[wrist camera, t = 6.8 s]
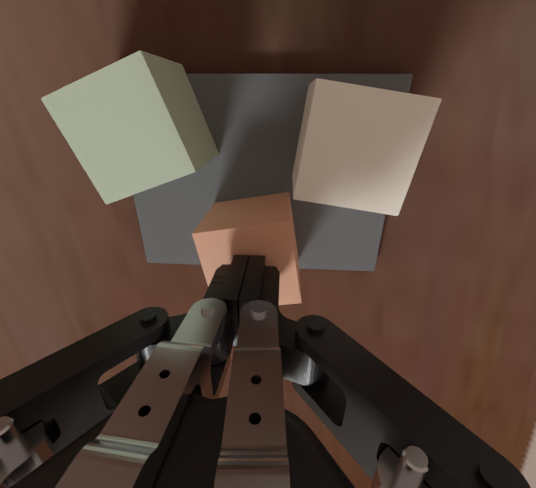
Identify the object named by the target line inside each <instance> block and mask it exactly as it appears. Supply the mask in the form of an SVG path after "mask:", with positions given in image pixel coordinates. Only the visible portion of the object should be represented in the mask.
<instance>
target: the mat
mask: <svg viewBox="0 0 536 488" xmlns="http://www.w3.org/2000/svg"><path fill="white" fill-rule="evenodd" d="M186 75H187V77H188V80H189V82H190V84H191V87H192V89H193V92H194V94H195V97H196V99H197V101H198V104H199V106H200V109H201V111H202V114H203V116H204V118H205V121H206V123H207V126H208V128H209V131H210V133H211V135H212V138H213V140H214V143H215V145H216V148H217V150H218V152H219V154H218V155H217V156H216V157H215V158H213V159H212V160H211V161H209V162H208V163H207V164H205V165H204V166H203V167H202V168H200V169H199V170H198V171H196V172H194V173H191V174H189V175H186V176H183V177H180V178H178V179H175V180H172V181H170V182H167V183H164V184H161V185H159V186H156V187H153V188H150V189H148V190H145V191H142V192H139V193H137V194H134V200H135V205H136V210H137V215H138V219H139V224H140V229H141V234H142V239H143V244H144V249H145V253H146V258H147V263H172V264H198V265H201V262H200V259H199V255H198V252H197V249H196V246H195V242H194V239H193V236H192V233H193V231H194V230H195V229H196V227H197V226H198V225H199V223H200V222H201V220H202V219H203V218H204V216H205V215H206V214H207V212H208V211H209V209H210V208H211V207H212V205H213V204H214V203H216V202H223V201H230V200H237V199H244V198H250V197H257V196H264V195H271V194H278V193H284V192H289V195H290V202H291V209H292V216H293V223H294V230H295V237H296V244H297V251H298V258H299V268H303V269H329V270H356V271H374V270H375V265H376V260H377V255H378V250H379V245H380V240H381V235H382V230H383V224H384V219H385V214H382V213H375V212H369V211H363V210H357V209H351V208H344V207H338V206H332V205H326V204H320V203H313V202H307V201H301V200H295V199H293V182H292V173H293V168H294V162H295V157H296V151H297V146H298V140H299V135H300V130H301V124H302V119H303V113H304V108H305V102H306V97H307V92H308V86H309V84H310V83H311V82H312V81H314V80H315V79H316V78H319V79H325V80H331V81H337V82H343V83H349V84H356V85H362V86H368V87H374V88H380V89H386V90H392V91H398V92H404V93H410V88H411V83H412V78H413V74H186Z"/></svg>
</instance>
